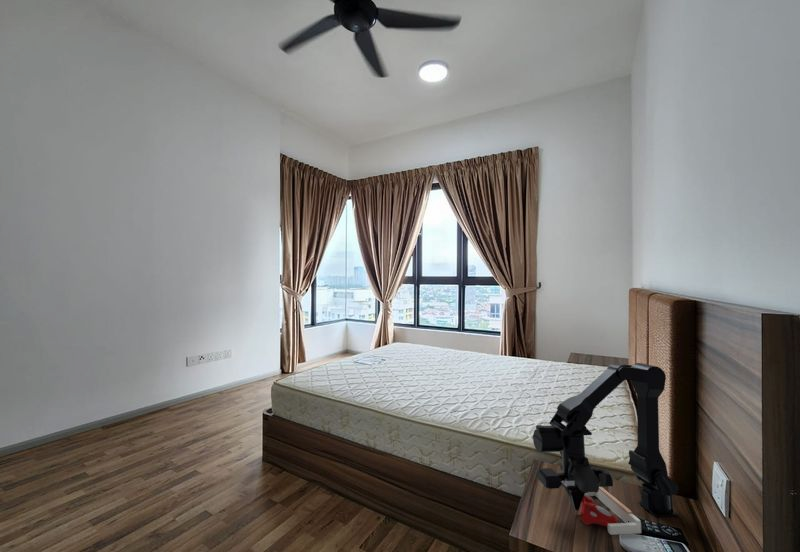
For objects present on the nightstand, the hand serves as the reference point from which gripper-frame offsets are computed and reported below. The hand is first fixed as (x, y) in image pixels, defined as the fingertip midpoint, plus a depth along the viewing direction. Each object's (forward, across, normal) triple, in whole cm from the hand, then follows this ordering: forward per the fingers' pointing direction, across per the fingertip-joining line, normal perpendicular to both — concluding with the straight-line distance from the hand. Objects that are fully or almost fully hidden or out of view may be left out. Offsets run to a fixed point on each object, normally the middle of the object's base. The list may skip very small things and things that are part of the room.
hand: (576, 509), depth 94 cm
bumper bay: (+1, +8, 0) cm, 8 cm away
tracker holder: (+2, +5, -2) cm, 5 cm away
